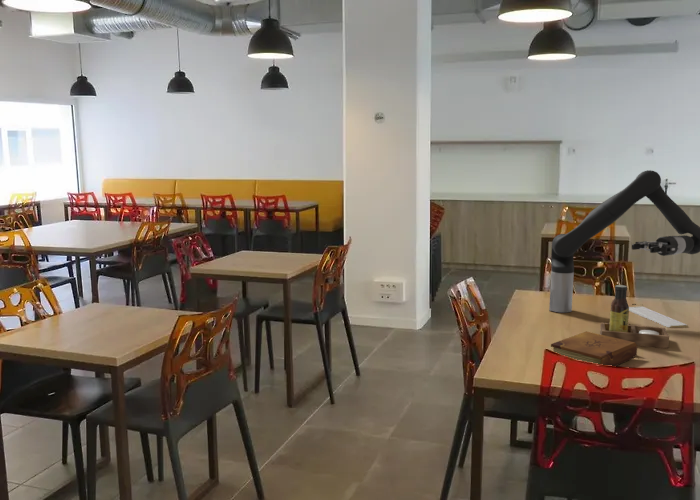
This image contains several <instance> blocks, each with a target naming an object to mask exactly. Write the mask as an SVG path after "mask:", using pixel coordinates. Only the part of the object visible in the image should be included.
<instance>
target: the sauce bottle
mask: <svg viewBox="0 0 700 500" xmlns="http://www.w3.org/2000/svg"><path fill="white" fill-rule="evenodd" d="M614 290H615V293H614V299H613V300H612V301H611V303H610V313H609V315H610V316H609V323H610V326H609V331H617V332H628V325H629V315H630V314H629V313H630V311H629V307H630V305H629V304H628V299H627V291H628V286H626V285H621V284H620V285H619V284H617V285H615V286H614Z"/></svg>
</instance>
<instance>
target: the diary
mask: <svg viewBox="0 0 700 500" xmlns="http://www.w3.org/2000/svg"><path fill="white" fill-rule="evenodd" d="M550 347H552V348H553V350H552V351H554V352H557V353H559V354H561V355H565V356H568V357H571V358H574V359H577V360H582V361H587V362H593V363H598V364H603V365H612V366H614V367H616V365H617V366H619V365H621V364H623V363H625V361H626V362H627V361H629V360H632V359H634V358H636V356H637V353H638V346H637V345H636V343H635V342H631V341H626V340H622V339H618V338H613V337H609V336H604V335H600V333H596V332H591V331H584V332H581V333H579V334H576V335H573V336H569V337H567V338H564V339H562V340H558V341H556V342H552V343H550ZM618 364H619V365H618Z"/></svg>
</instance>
